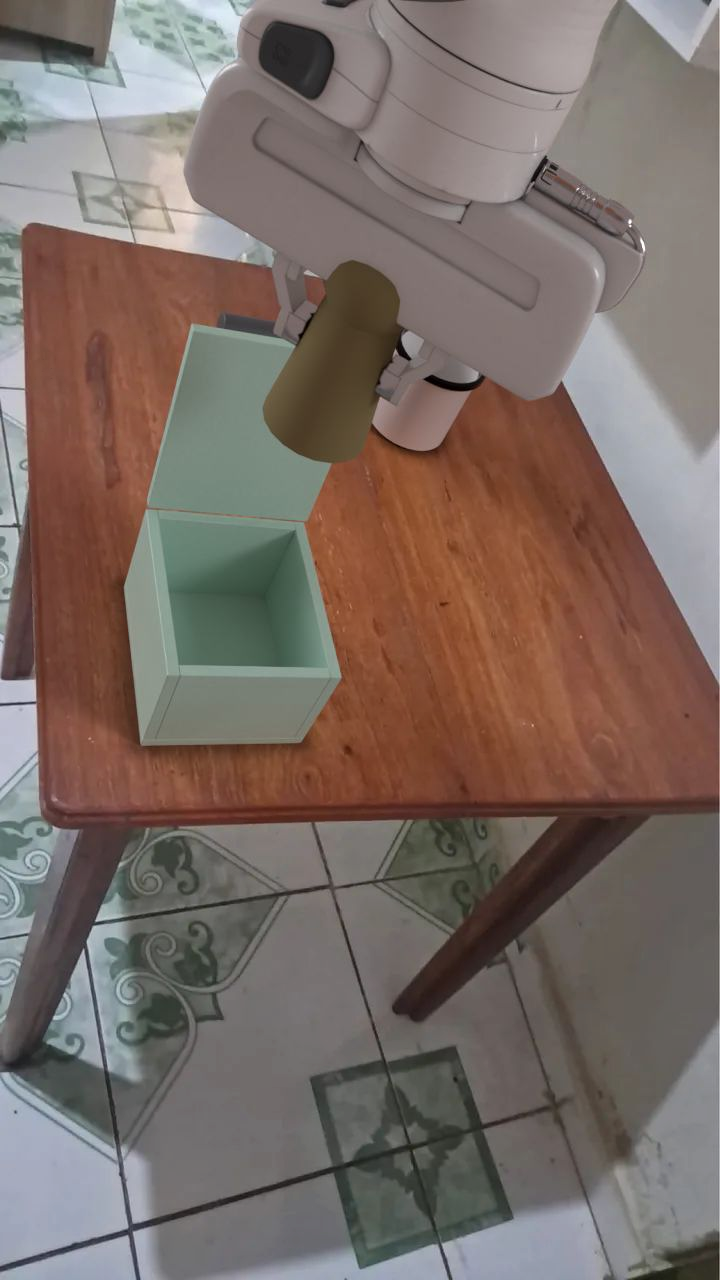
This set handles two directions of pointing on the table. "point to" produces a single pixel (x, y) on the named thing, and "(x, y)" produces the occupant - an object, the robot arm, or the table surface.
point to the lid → (231, 430)
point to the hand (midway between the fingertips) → (339, 365)
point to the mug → (426, 401)
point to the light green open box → (226, 631)
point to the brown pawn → (337, 367)
